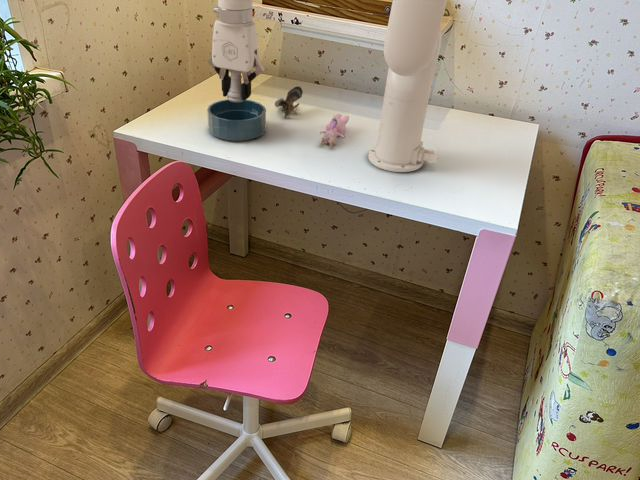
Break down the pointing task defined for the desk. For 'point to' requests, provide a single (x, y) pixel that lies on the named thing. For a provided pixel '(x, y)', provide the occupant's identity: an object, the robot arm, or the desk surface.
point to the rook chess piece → (235, 87)
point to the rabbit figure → (334, 129)
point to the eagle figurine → (290, 100)
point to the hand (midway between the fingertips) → (236, 95)
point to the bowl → (236, 120)
